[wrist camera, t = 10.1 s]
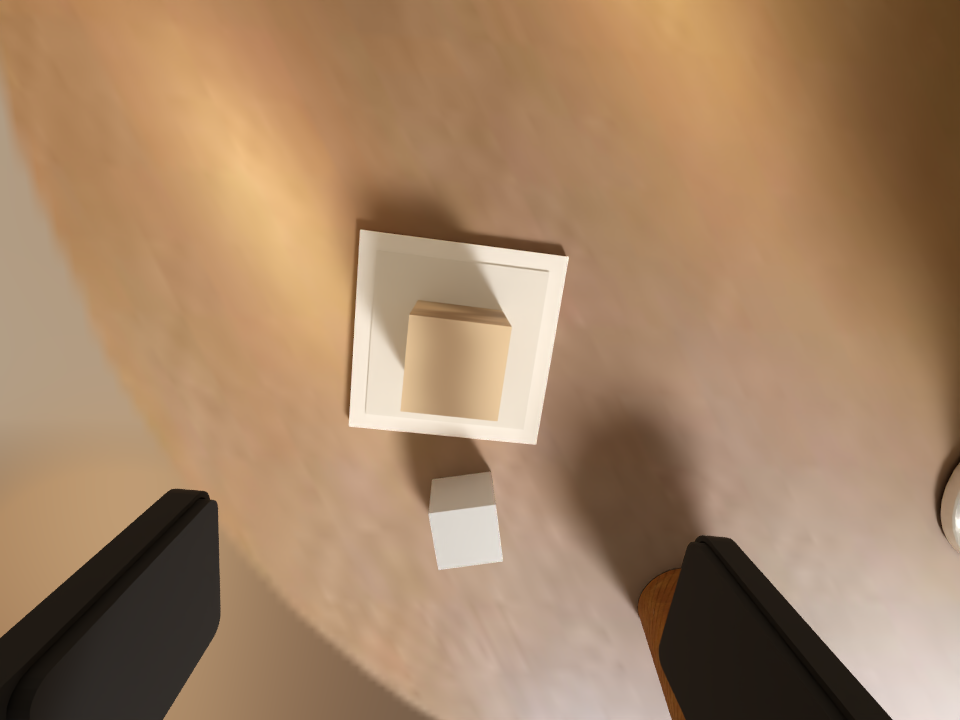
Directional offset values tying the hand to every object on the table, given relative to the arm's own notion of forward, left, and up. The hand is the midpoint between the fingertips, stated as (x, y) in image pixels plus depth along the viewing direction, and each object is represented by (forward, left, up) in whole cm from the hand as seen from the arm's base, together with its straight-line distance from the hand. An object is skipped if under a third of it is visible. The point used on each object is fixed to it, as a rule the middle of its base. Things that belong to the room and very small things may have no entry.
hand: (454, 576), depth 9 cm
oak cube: (0, 0, -19) cm, 19 cm away
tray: (0, 0, -20) cm, 20 cm away
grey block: (-2, +11, -20) cm, 23 cm away
